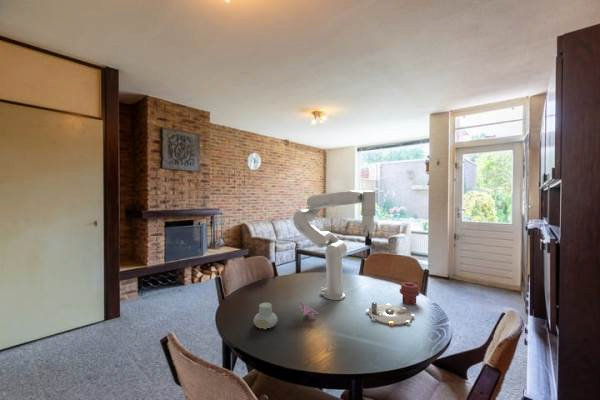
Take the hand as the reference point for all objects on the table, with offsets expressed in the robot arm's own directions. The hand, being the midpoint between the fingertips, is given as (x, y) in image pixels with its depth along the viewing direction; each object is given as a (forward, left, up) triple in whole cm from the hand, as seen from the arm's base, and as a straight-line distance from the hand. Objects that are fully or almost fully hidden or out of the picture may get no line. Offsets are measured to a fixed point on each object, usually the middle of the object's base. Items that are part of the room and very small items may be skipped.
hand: (368, 245), depth 154 cm
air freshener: (-36, -49, -32) cm, 69 cm away
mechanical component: (+21, +6, -32) cm, 39 cm away
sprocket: (+14, -15, -31) cm, 37 cm away
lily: (-22, -35, -32) cm, 52 cm away
